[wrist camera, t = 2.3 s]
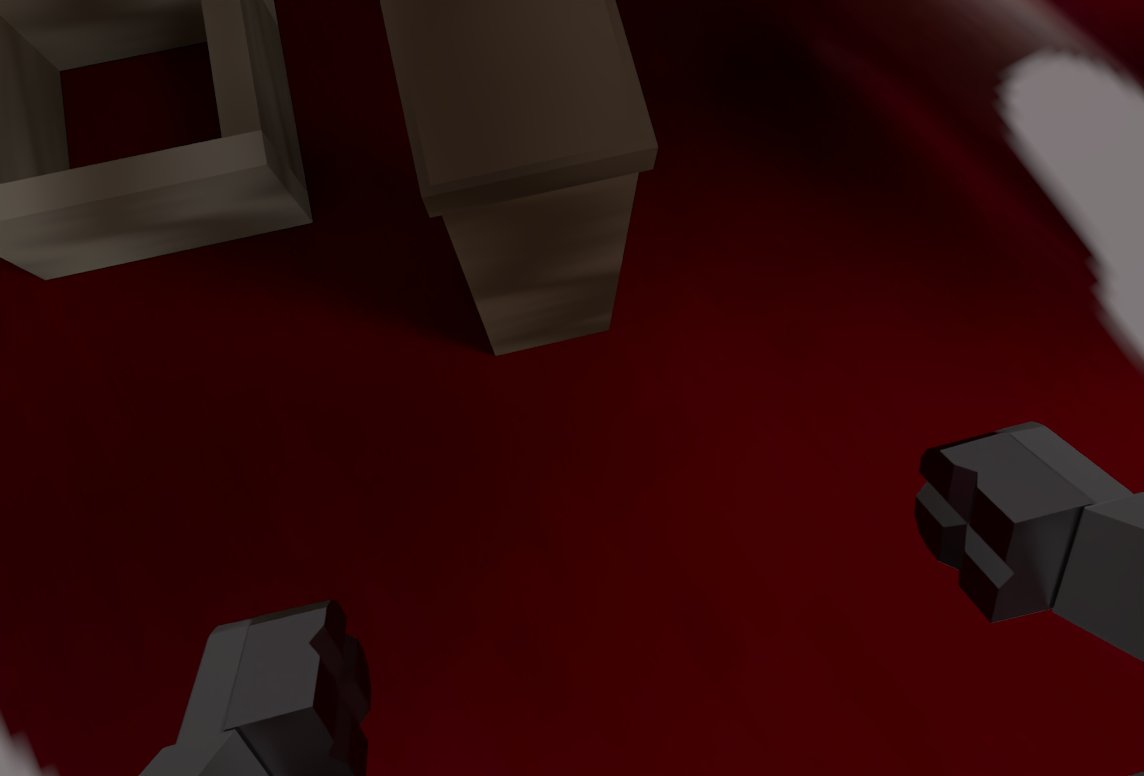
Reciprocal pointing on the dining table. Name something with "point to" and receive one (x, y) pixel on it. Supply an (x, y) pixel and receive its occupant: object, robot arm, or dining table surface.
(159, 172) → the frame
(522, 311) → the brown capped wooden post
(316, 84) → the dining table surface
